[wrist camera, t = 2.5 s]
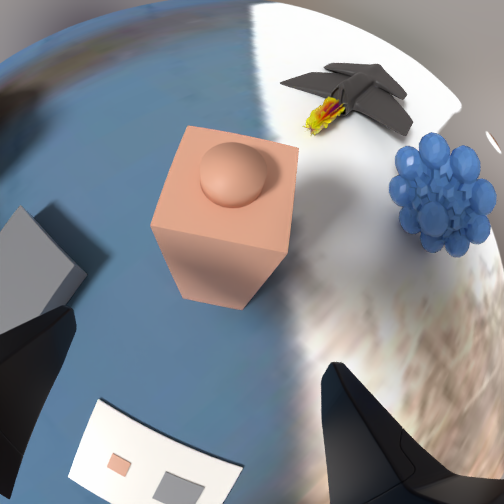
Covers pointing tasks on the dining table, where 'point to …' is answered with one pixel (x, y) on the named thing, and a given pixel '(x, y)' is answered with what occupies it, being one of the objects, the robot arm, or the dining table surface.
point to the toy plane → (354, 95)
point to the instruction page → (146, 464)
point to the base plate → (32, 272)
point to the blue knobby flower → (442, 195)
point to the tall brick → (225, 214)
